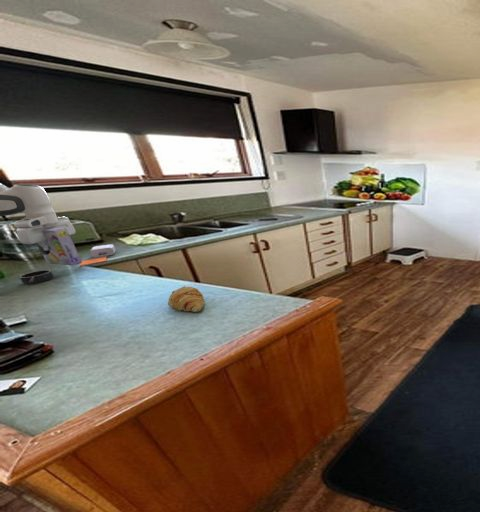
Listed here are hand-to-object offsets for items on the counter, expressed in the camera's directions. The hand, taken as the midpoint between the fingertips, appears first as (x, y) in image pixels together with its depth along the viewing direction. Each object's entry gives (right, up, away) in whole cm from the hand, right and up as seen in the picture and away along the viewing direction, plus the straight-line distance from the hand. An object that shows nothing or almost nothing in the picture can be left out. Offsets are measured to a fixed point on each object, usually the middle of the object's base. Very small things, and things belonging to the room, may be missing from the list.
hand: (55, 248), depth 130 cm
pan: (+1, -15, -7) cm, 17 cm away
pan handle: (+7, -15, -14) cm, 21 cm away
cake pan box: (+1, -8, +2) cm, 8 cm away
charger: (-8, -2, +31) cm, 32 cm away
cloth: (0, -7, +17) cm, 19 cm away
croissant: (+87, -22, -32) cm, 95 cm away
